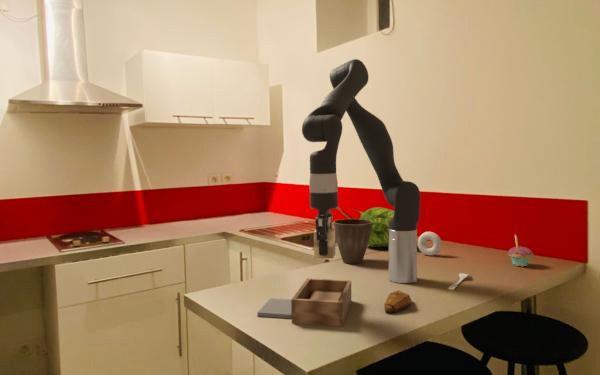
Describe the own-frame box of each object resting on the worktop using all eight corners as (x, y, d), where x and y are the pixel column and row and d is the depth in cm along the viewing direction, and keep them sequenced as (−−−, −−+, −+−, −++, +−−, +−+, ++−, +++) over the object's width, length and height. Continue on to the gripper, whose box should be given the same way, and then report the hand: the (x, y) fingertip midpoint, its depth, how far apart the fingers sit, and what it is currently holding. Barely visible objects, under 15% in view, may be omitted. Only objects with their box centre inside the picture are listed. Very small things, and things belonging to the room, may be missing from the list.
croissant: (399, 317, 120) (399, 298, 119) (376, 312, 124) (376, 294, 123) (419, 303, 130) (419, 286, 130) (397, 299, 134) (397, 282, 134)
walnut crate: (351, 300, 133) (351, 280, 132) (342, 326, 113) (342, 302, 113) (307, 298, 136) (307, 278, 135) (291, 322, 116) (291, 299, 116)
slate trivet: (300, 303, 131) (300, 300, 131) (290, 318, 119) (290, 314, 119) (270, 301, 133) (270, 298, 133) (257, 316, 121) (257, 312, 121)
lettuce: (398, 254, 192) (398, 211, 190) (350, 248, 206) (350, 208, 205) (417, 247, 206) (417, 207, 205) (371, 241, 221) (371, 204, 220)
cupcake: (508, 267, 169) (508, 235, 168) (507, 262, 176) (507, 231, 176) (534, 269, 165) (535, 236, 164) (532, 263, 173) (532, 232, 172)
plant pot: (369, 257, 188) (369, 218, 186) (374, 266, 173) (374, 224, 172) (333, 257, 188) (332, 219, 187) (334, 266, 173) (334, 224, 172)
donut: (442, 256, 188) (443, 232, 187) (440, 257, 185) (440, 233, 184) (419, 253, 194) (419, 230, 193) (416, 255, 191) (416, 231, 190)
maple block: (335, 254, 126) (334, 229, 125) (332, 258, 121) (332, 232, 120) (317, 253, 127) (316, 228, 126) (314, 258, 122) (313, 232, 121)
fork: (445, 297, 143) (445, 289, 142) (464, 275, 159) (464, 268, 159) (454, 299, 141) (454, 290, 141) (472, 276, 158) (472, 269, 157)
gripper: (334, 192, 115) (335, 259, 116) (340, 188, 129) (342, 247, 130) (304, 192, 116) (306, 258, 118) (314, 188, 130) (315, 247, 132)
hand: (325, 252), depth 124 cm, fingers closed on maple block, 5 cm apart
